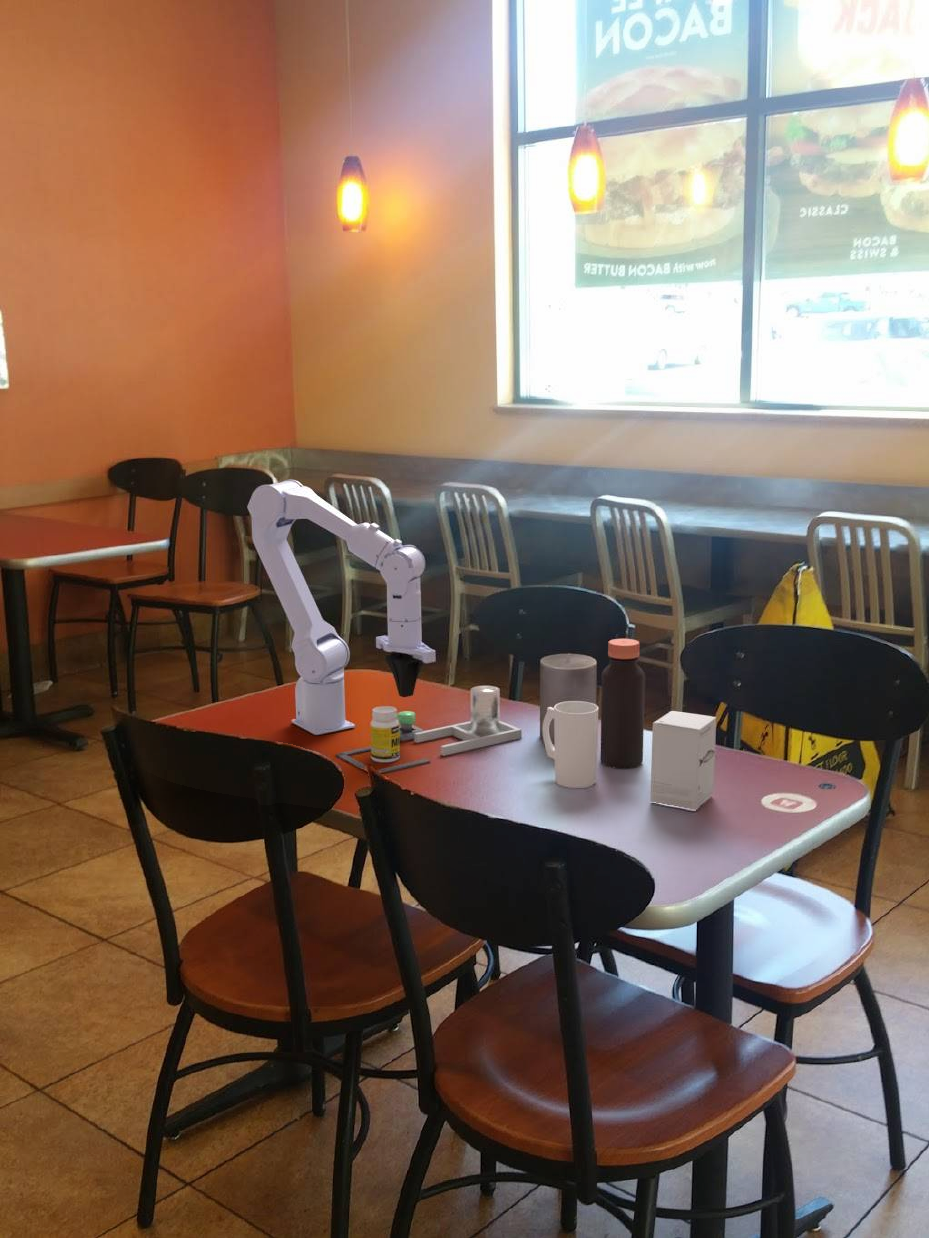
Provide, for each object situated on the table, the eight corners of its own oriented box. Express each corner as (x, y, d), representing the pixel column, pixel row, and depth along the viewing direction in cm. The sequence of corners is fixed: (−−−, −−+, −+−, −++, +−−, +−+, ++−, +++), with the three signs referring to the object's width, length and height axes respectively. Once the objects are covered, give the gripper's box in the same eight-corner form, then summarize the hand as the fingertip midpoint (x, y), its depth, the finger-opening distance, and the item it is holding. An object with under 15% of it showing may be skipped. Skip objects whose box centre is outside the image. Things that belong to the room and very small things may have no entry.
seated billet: (465, 733, 214) (464, 688, 212) (488, 728, 216) (488, 684, 215) (481, 740, 210) (481, 695, 208) (505, 735, 212) (505, 690, 211)
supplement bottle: (395, 764, 199) (394, 714, 198) (367, 762, 200) (366, 712, 199) (403, 754, 204) (402, 705, 202) (375, 752, 205) (374, 704, 203)
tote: (335, 755, 204) (335, 753, 204) (391, 743, 210) (391, 741, 210) (372, 775, 194) (372, 774, 194) (430, 762, 200) (430, 760, 200)
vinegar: (651, 761, 199) (654, 641, 195) (626, 772, 195) (628, 649, 190) (616, 752, 204) (619, 635, 200) (591, 762, 199) (593, 642, 195)
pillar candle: (546, 726, 218) (545, 644, 214) (600, 730, 215) (601, 647, 212) (534, 744, 209) (533, 659, 205) (591, 748, 206) (591, 662, 203)
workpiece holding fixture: (414, 741, 210) (414, 733, 210) (490, 724, 219) (490, 716, 219) (443, 755, 203) (443, 747, 203) (521, 737, 212) (521, 729, 212)
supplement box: (696, 813, 178) (699, 729, 175) (648, 803, 181) (650, 721, 179) (714, 797, 184) (718, 716, 181) (668, 788, 188) (670, 708, 185)
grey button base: (389, 734, 214) (389, 728, 214) (410, 730, 217) (410, 723, 216) (402, 741, 211) (402, 734, 210) (424, 736, 213) (424, 730, 213)
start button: (394, 728, 214) (394, 713, 213) (409, 725, 215) (409, 710, 215) (403, 732, 211) (403, 717, 211) (418, 729, 213) (418, 714, 212)
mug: (606, 781, 191) (607, 707, 188) (578, 792, 186) (579, 716, 183) (557, 766, 198) (557, 694, 195) (528, 776, 193) (529, 703, 190)
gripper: (360, 615, 212) (363, 691, 215) (410, 629, 201) (412, 709, 204) (393, 609, 216) (395, 683, 219) (444, 622, 205) (446, 701, 208)
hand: (406, 695), depth 212 cm, fingers closed
